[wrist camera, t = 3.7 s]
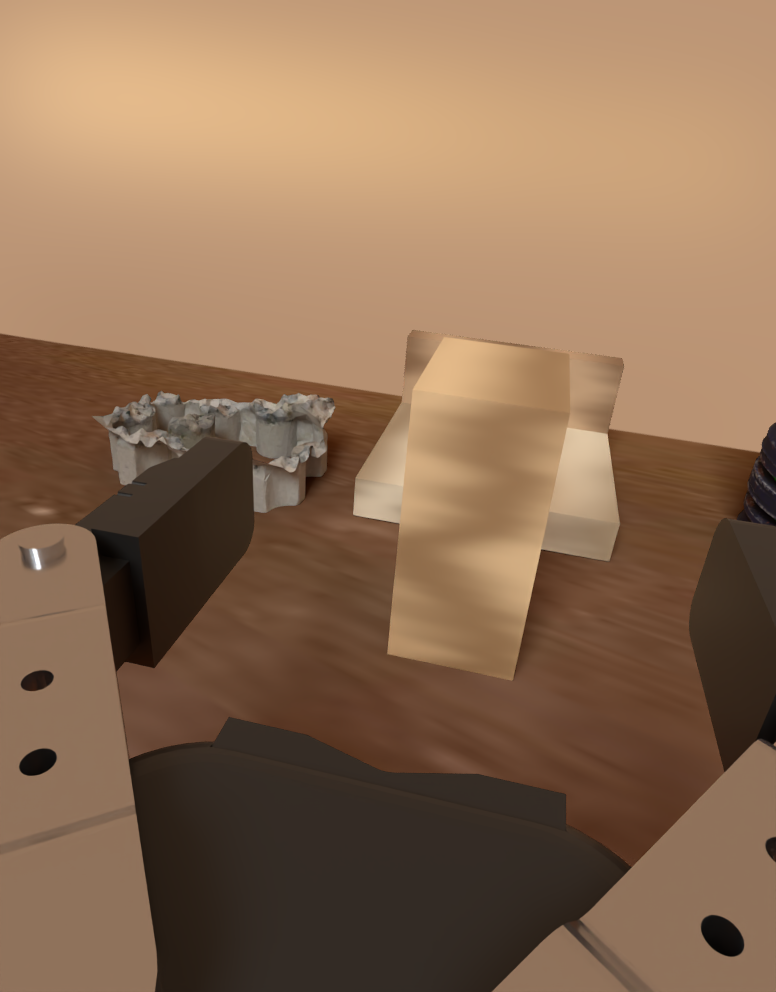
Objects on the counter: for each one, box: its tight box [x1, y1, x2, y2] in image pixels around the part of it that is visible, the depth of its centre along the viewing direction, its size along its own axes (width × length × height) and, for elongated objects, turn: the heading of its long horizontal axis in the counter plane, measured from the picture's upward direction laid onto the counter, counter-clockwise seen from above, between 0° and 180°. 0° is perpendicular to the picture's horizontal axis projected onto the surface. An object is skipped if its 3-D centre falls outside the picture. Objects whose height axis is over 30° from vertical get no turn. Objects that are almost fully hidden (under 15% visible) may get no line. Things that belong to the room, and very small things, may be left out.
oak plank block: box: [387, 337, 570, 681], centre depth 25 cm, size 4×6×10 cm
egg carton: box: [92, 391, 335, 513], centre depth 35 cm, size 11×8×4 cm
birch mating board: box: [353, 330, 624, 561], centre depth 36 cm, size 12×12×6 cm
